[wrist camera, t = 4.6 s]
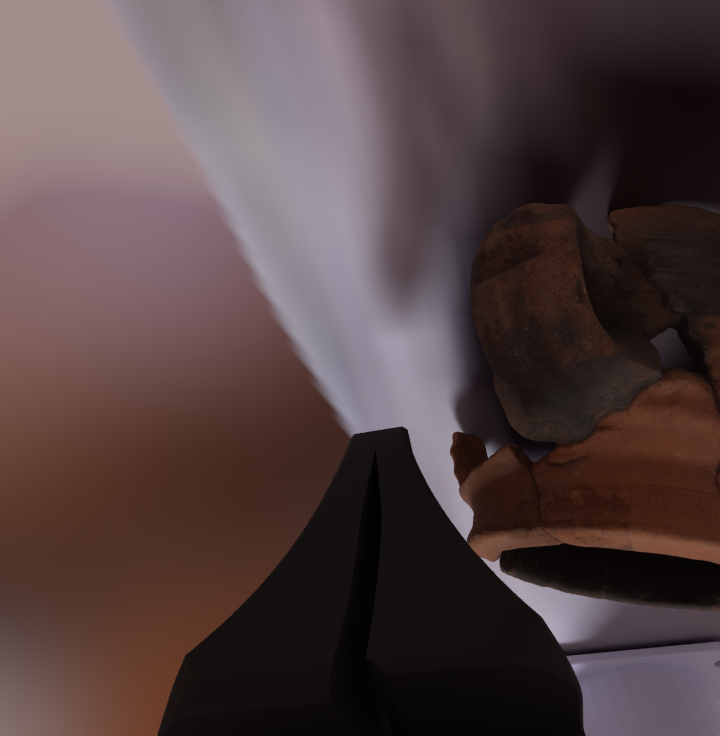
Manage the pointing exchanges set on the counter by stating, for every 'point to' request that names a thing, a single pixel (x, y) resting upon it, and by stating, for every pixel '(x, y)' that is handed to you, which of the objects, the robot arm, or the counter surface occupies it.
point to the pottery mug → (601, 404)
